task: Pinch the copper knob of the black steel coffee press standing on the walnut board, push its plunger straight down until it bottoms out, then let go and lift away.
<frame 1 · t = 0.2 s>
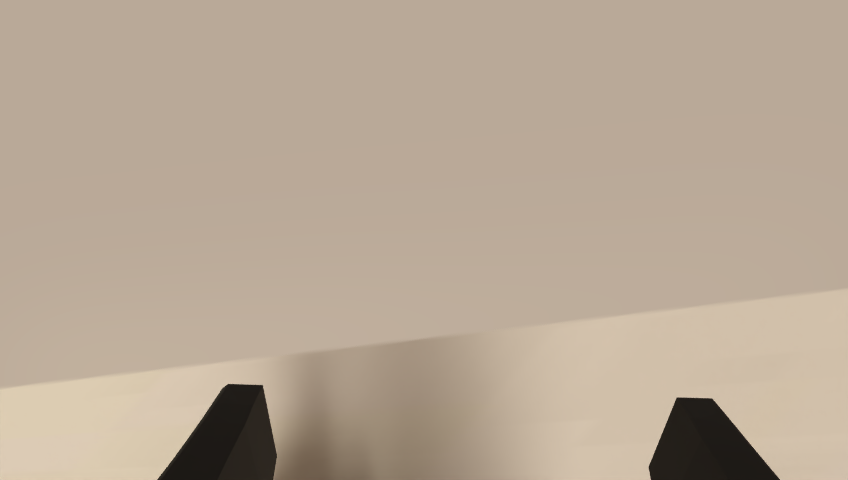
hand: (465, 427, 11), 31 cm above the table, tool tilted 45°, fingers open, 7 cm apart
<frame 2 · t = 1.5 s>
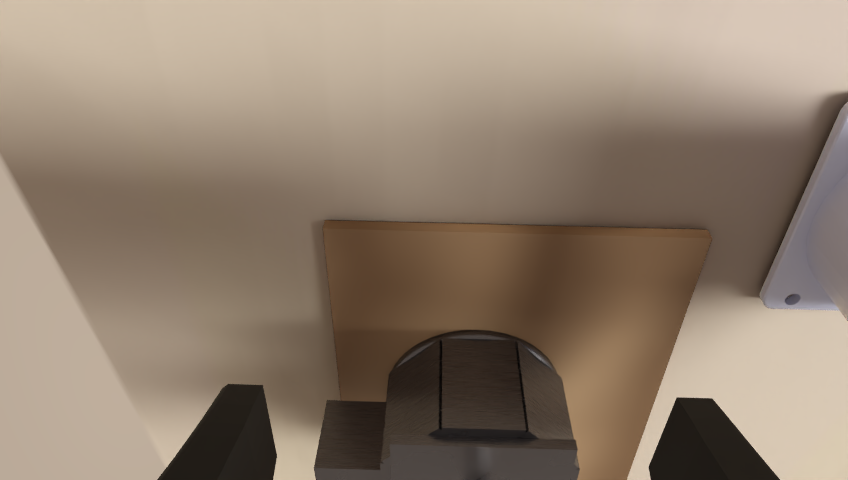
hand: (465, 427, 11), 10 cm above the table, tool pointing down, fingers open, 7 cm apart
walnut board: (494, 397, 26), on the table
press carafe: (472, 390, 25), resting on walnut board
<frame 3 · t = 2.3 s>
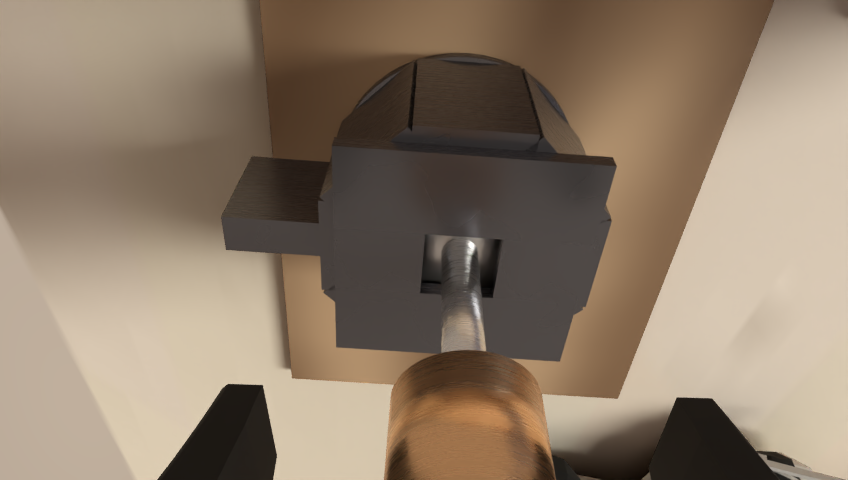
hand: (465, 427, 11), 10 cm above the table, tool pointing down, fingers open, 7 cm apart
walnut board: (483, 189, 20), on the table
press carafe: (455, 167, 19), resting on walnut board
plunger: (463, 353, 12), point 8 cm above the table, slide at 0.0 cm
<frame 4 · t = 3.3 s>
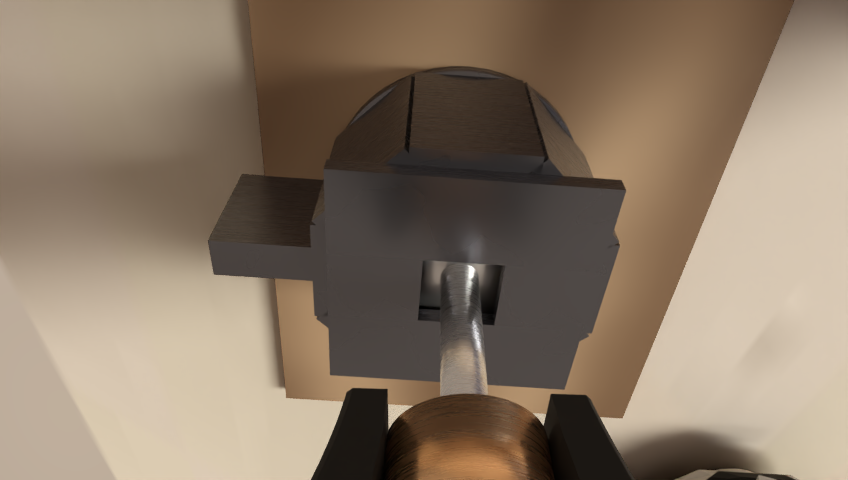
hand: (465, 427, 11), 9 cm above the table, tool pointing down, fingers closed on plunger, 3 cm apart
walnut board: (484, 205, 19), on the table
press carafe: (455, 183, 18), resting on walnut board
plunger: (464, 390, 12), point 8 cm above the table, slide at 0.0 cm, touching gripper
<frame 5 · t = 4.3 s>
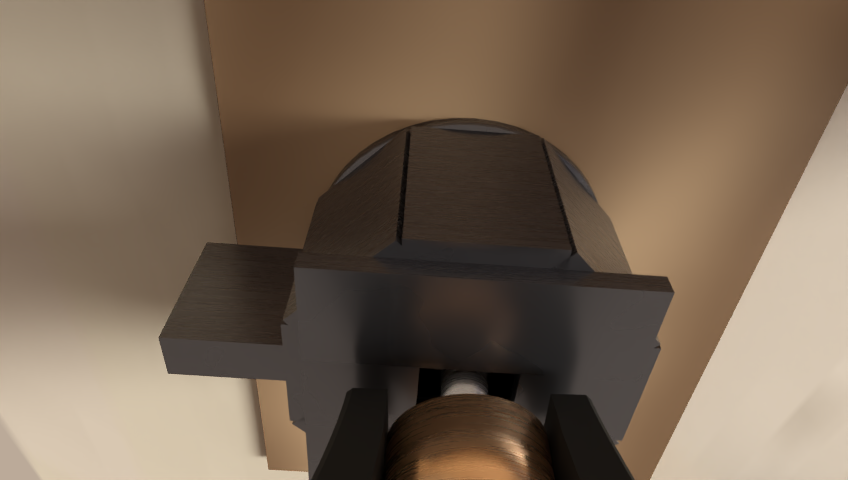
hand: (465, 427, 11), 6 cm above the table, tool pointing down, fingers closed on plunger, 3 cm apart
walnut board: (491, 269, 16), on the table
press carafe: (458, 247, 15), resting on walnut board
plunger: (464, 390, 12), point 5 cm above the table, slide at 3.1 cm, touching gripper
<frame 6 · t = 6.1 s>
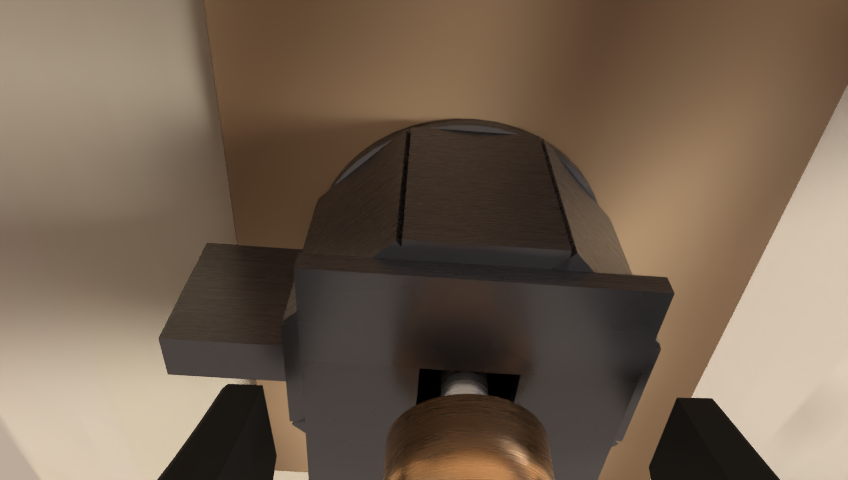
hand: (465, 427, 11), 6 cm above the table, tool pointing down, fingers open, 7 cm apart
walnut board: (491, 269, 16), on the table
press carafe: (458, 248, 15), resting on walnut board
plunger: (464, 391, 12), point 5 cm above the table, slide at 3.1 cm
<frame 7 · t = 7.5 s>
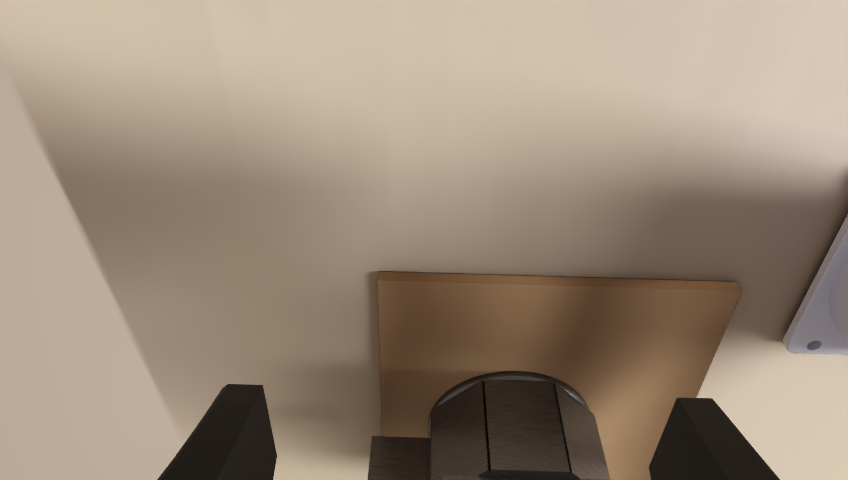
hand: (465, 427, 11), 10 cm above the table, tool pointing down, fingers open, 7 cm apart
walnut board: (527, 431, 28), on the table
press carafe: (508, 425, 27), resting on walnut board
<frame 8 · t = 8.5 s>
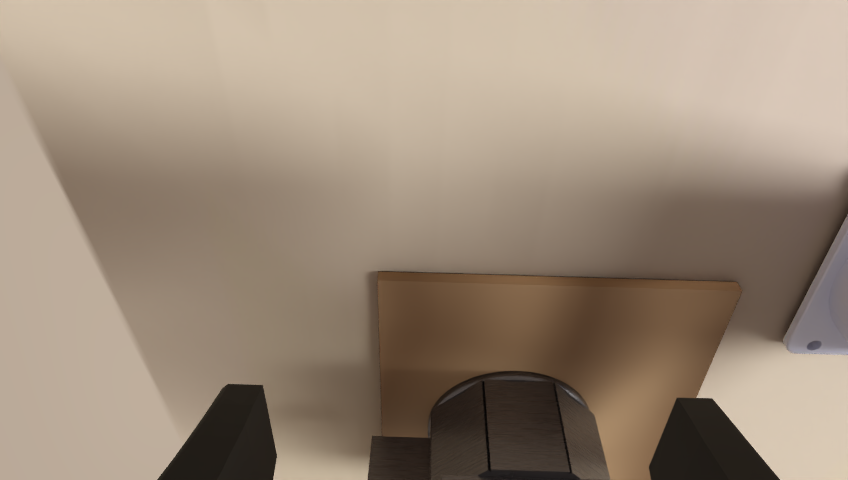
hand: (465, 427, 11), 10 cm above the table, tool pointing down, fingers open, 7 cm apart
walnut board: (527, 431, 28), on the table
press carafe: (508, 425, 27), resting on walnut board
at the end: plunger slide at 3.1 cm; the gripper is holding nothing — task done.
